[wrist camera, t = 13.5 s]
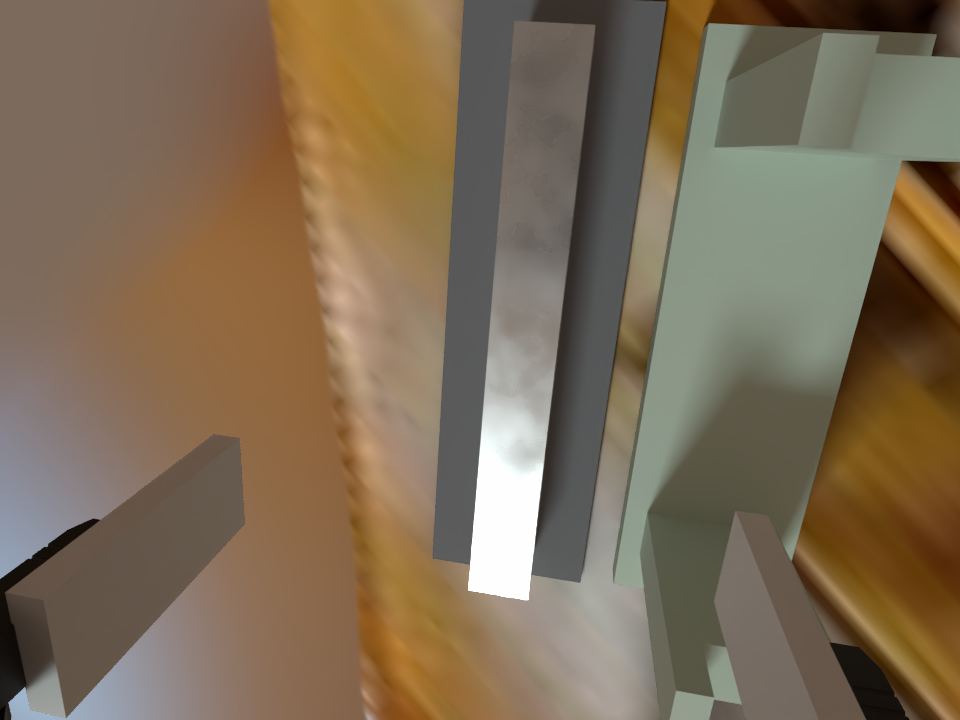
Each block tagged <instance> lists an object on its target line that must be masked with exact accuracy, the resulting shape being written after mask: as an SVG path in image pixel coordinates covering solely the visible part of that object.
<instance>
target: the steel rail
mask: <svg viewBox="0 0 960 720" xmlns="http://www.w3.org/2000/svg"><path fill="white" fill-rule="evenodd" d="M594 42H595V25H589V24H569V23H549V22H529V21H514V30H513V43H512V55H511V68H510V80H509V93H508V105H507V118H506V130H505V143H504V155H503V168H502V180H501V193H500V205H499V218H498V230H497V242H496V255H495V267H494V280H493V292H492V305H491V317H490V330H489V342H488V355H487V367H486V380H485V392H484V405H483V417H482V430H481V442H480V455H479V467H478V479H477V492H476V504H475V517H474V529H473V542H472V554H471V567H470V579H469V590H471V591H477V592H483V593H489V594H495V595H501V596H506V597H512V598H518V599H524V600H528V594H529V587H530V580H531V572H532V565H533V557H534V550H535V542H536V533H537V525H538V516H539V508H540V499H541V491H542V483H543V474H544V466H545V457H546V449H547V440H548V432H549V423H550V415H551V406H552V398H553V390H554V381H555V373H556V364H557V356H558V347H559V339H560V330H561V322H562V313H563V305H564V297H565V288H566V280H567V271H568V263H569V254H570V246H571V237H572V229H573V220H574V212H575V204H576V195H577V187H578V178H579V170H580V161H581V153H582V144H583V136H584V127H585V119H586V111H587V102H588V94H589V85H590V77H591V68H592V60H593V51H594Z"/></svg>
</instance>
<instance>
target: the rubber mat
mask: <svg viewBox="0 0 960 720" xmlns="http://www.w3.org/2000/svg"><path fill="white" fill-rule="evenodd" d="M666 4H667V2H663V1H641V0H464V11H463V29H462V46H461V64H460V82H459V99H458V117H457V135H456V152H455V170H454V188H453V205H452V223H451V241H450V259H449V276H448V294H447V312H446V329H445V347H444V365H443V382H442V400H441V418H440V435H439V453H438V471H437V488H436V506H435V524H434V541H433V559H439V560H445V561H451V562H458V563H464V564H470V565H471V554H472V542H473V529H474V517H475V504H476V492H477V479H478V467H479V455H480V442H481V430H482V417H483V405H484V392H485V380H486V367H487V355H488V342H489V330H490V317H491V305H492V292H493V280H494V267H495V255H496V242H497V230H498V218H499V205H500V193H501V180H502V168H503V155H504V143H505V130H506V118H507V105H508V93H509V80H510V68H511V55H512V43H513V30H514V21H529V22H549V23H569V24H589V25H595V42H594V51H593V60H592V68H591V77H590V85H589V94H588V102H587V111H586V119H585V127H584V136H583V144H582V153H581V161H580V170H579V178H578V187H577V195H576V204H575V212H574V220H573V229H572V237H571V246H570V254H569V263H568V271H567V280H566V288H565V297H564V305H563V313H562V322H561V330H560V339H559V347H558V356H557V364H556V373H555V381H554V390H553V398H552V406H551V415H550V423H549V432H548V440H547V449H546V457H545V466H544V474H543V483H542V491H541V499H540V508H539V516H538V525H537V533H536V542H535V550H534V557H533V565H532V572H531V575H536V576H542V577H549V578H555V579H561V580H567V581H573V582H579V583H580V581H581V574H582V568H583V561H584V554H585V547H586V541H587V534H588V527H589V521H590V514H591V507H592V500H593V494H594V487H595V480H596V474H597V467H598V460H599V453H600V447H601V440H602V433H603V427H604V420H605V413H606V407H607V400H608V393H609V386H610V380H611V373H612V366H613V360H614V353H615V346H616V339H617V333H618V326H619V319H620V313H621V306H622V299H623V292H624V286H625V279H626V272H627V266H628V259H629V252H630V245H631V239H632V232H633V225H634V219H635V212H636V205H637V198H638V192H639V185H640V178H641V172H642V165H643V158H644V151H645V145H646V138H647V131H648V125H649V118H650V111H651V105H652V98H653V91H654V84H655V78H656V71H657V64H658V58H659V51H660V44H661V37H662V31H663V24H664V17H665V11H666Z"/></svg>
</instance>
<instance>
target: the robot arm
mask: <svg viewBox="0 0 960 720" xmlns="http://www.w3.org/2000/svg"><path fill="white" fill-rule="evenodd" d="M244 524H245V517H244V501H243V484H242V468H241V452H240V438H235V437H229V436H222V435H215V434H214V435H212V436H211V437H210V438H208V439H207V440H206V441H204V442H203V443H202V444H200V445H199V446H198V447H196V448H195V449H194V450H192V451H191V452H190V453H188V454H187V455H186V456H185V457H183V458H182V459H181V460H179V461H178V462H177V463H175V464H174V465H173V466H171V467H170V468H169V469H168V470H166V471H165V472H163V473H162V474H161V475H159V476H158V477H157V478H156V479H154V480H153V481H152V482H150V483H149V484H148V485H146V486H145V487H144V488H142V489H141V490H140V491H138V492H137V493H136V494H135V495H133V496H132V497H131V498H129V499H128V500H127V501H125V502H124V503H123V504H121V505H120V506H119V507H118V508H116V509H115V510H113V511H112V512H111V513H109V514H108V515H107V516H106V517H104V518H103V519H101V520H98V519H91V520H89V521H87V522H84V523H83V524H80V525H78V526H75V527H73V528H71V529H69V530H67V531H66V532H64V533H63V534H61V535H60V536H59V537H57V538H56V539H55V540H53V541H52V542H50V543H49V544H48V547H44V548H42V549H41V550H40V551H38V552H37V553H35V554H34V555H33V556H32V559H27V560H26V561H24V562H23V563H22V564H20V565H19V566H18V567H16V568H15V569H14V570H12V571H11V572H9V573H8V574H7V575H5V576H4V577H2V578H1V579H0V720H11V713H10V708H9V704H8V702H9V701H10V700H11V699H13V698H14V696H16V695H17V694H18V693H19V692H20V691H21V690H22V689H23V688H24V687H25V688H26V692H27V697H28V702H29V706H30V710H32V711H36V712H41V713H45V714H50V715H54V716H59V717H64V718H67V716H68V715H69V714H70V713H71V712H72V711H73V710H74V709H75V708H76V707H77V706H78V704H79V703H80V702H81V701H82V700H83V699H84V698H85V697H86V696H87V695H88V694H89V693H90V691H91V690H92V689H93V688H94V687H95V686H96V685H97V684H98V683H99V682H100V681H101V680H102V679H103V677H104V676H105V675H106V674H107V673H108V672H109V671H110V670H111V669H112V668H113V666H114V665H115V664H116V663H117V662H118V661H119V660H120V659H121V658H122V656H124V655H125V654H126V652H127V651H128V650H129V649H130V648H131V647H132V646H133V645H134V644H135V643H136V642H137V640H138V639H139V638H140V637H141V636H142V635H143V634H144V633H145V632H146V631H147V630H148V629H149V628H150V626H151V625H152V624H153V623H154V622H155V621H156V620H157V619H158V618H159V617H160V616H161V614H162V613H163V612H164V611H165V610H166V609H167V608H168V607H169V606H170V605H171V604H172V602H173V601H174V600H175V599H176V598H177V597H178V596H179V595H180V594H181V593H182V592H183V591H184V590H185V588H186V587H187V586H188V585H189V584H190V583H191V582H192V581H193V580H194V579H195V578H196V577H197V575H198V574H199V573H200V572H201V571H202V570H203V569H204V568H205V567H206V566H207V565H208V564H209V562H210V561H211V560H212V559H213V558H214V557H215V556H216V555H217V554H218V553H219V552H220V550H221V549H222V548H223V547H224V546H225V545H226V544H227V543H228V542H229V541H230V540H231V539H232V537H233V536H234V535H235V534H236V533H237V532H238V531H239V530H240V529H241V528H242V527H243V526H244ZM714 604H715V607H716V611H717V615H718V619H719V622H720V626H721V630H722V633H723V637H724V641H725V644H726V648H727V652H728V655H729V659H730V663H731V667H732V670H733V674H734V678H735V681H736V685H737V689H738V692H739V696H740V700H741V703H742V707H743V711H744V715H745V718H746V720H909V718H908V717H905V711H904V709H903V707H902V706H901V704H900V702H899V700H898V698H897V697H895V696H894V691H893V690H892V688H891V686H890V684H889V682H888V681H887V679H886V677H885V675H884V673H883V672H882V670H881V669H880V668H879V667H878V666H877V665H876V664H875V663H874V662H873V661H872V660H871V659H870V658H869V657H868V656H867V655H866V654H865V653H864V652H863V651H862V650H861V649H860V648H859V647H854V646H848V645H842V644H836V643H831V642H828V639H827V637H826V635H825V633H824V631H823V629H822V627H821V625H820V623H819V621H818V619H817V617H816V614H815V612H814V610H813V608H812V606H811V604H810V602H809V600H808V598H807V596H806V594H805V592H804V590H803V587H802V585H801V583H800V581H799V579H798V577H797V575H796V573H795V571H794V569H793V567H792V565H791V563H790V560H789V558H788V556H787V554H786V552H785V550H784V548H783V546H782V544H781V542H780V540H779V538H778V536H777V533H776V531H775V529H774V527H773V525H772V523H771V521H770V519H769V517H768V515H762V514H755V513H748V512H741V511H735V515H734V519H733V523H732V527H731V532H730V536H729V540H728V544H727V549H726V553H725V557H724V561H723V565H722V570H721V574H720V578H719V582H718V587H717V591H716V595H715V599H714Z"/></svg>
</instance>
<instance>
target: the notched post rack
mask: <svg viewBox="0 0 960 720" xmlns="http://www.w3.org/2000/svg"><path fill="white" fill-rule="evenodd" d="M936 36H937V34H920V33H900V32H879V31H859V30H838V29H818V28H797V27H777V26H756V25H736V24H715V23H708V25H707V26H706V27H705V28H704V29H703V34H702V40H701V46H700V52H699V58H698V64H697V70H696V76H695V82H694V88H693V94H692V100H691V106H690V112H689V118H688V123H687V129H686V135H685V141H684V147H683V153H682V159H681V165H680V171H679V177H678V183H677V189H676V195H675V201H674V207H673V213H672V219H671V225H670V231H669V237H668V243H667V249H666V255H665V261H664V267H663V273H662V278H661V284H660V290H659V296H658V302H657V308H656V314H655V320H654V326H653V332H652V338H651V344H650V350H649V356H648V362H647V368H646V374H645V380H644V386H643V392H642V398H641V404H640V410H639V416H638V422H637V428H636V433H635V439H634V445H633V451H632V457H631V463H630V469H629V475H628V481H627V487H626V493H625V499H624V505H623V511H622V517H621V523H620V529H619V535H618V541H617V547H616V553H615V559H614V565H613V583H614V584H617V585H623V586H629V587H635V588H641V589H644V593H645V601H646V609H647V617H648V625H649V632H650V640H651V648H652V656H653V664H654V672H655V680H656V688H657V696H658V704H659V711H660V719H661V720H709V717H710V713H711V709H712V705H713V701H714V700H720V701H725V702H731V703H736V704H742V703H741V700H740V696H739V692H738V689H737V685H736V681H735V678H734V674H733V670H732V667H731V663H730V659H729V655H728V652H727V648H726V644H725V641H724V637H723V633H722V630H721V626H720V622H719V619H718V615H717V611H716V607H715V604H714V599H715V595H716V591H717V587H718V582H719V578H720V574H721V570H722V565H723V561H724V557H725V553H726V549H727V544H728V540H729V536H730V532H731V527H732V523H733V519H734V515H735V511H741V512H748V513H755V514H762V515H768V517H769V519H770V521H771V523H772V525H773V527H774V529H775V531H776V533H777V536H778V538H779V540H780V542H781V544H782V546H783V548H784V550H785V552H786V554H787V556H788V558H789V560H790V563H791V565H792V567H793V569H794V571H795V573H796V575H797V577H798V579H799V581H800V583H801V585H802V587H803V590H804V592H805V594H806V596H807V598H808V600H809V602H810V604H811V606H812V608H813V610H814V612H815V614H816V617H817V619H818V621H819V623H820V625H821V627H822V629H823V631H824V633H825V635H826V637H827V639H828V642H831V641H830V638H829V636H828V634H827V632H826V630H825V628H824V626H823V624H822V622H821V620H820V618H819V616H818V614H817V612H816V610H815V608H814V606H813V604H812V602H811V600H810V598H809V596H808V594H807V592H806V590H805V588H804V586H803V584H802V582H801V580H800V578H799V576H798V574H797V572H796V570H795V568H794V566H793V564H792V562H791V561H792V557H793V554H794V550H795V546H796V543H797V539H798V536H799V532H800V528H801V525H802V521H803V517H804V514H805V510H806V507H807V503H808V499H809V496H810V492H811V489H812V485H813V481H814V478H815V474H816V470H817V467H818V463H819V460H820V456H821V452H822V449H823V445H824V441H825V438H826V434H827V431H828V427H829V423H830V420H831V416H832V412H833V409H834V405H835V402H836V398H837V394H838V391H839V387H840V384H841V380H842V376H843V373H844V369H845V365H846V362H847V358H848V355H849V351H850V347H851V344H852V340H853V336H854V333H855V329H856V326H857V322H858V318H859V315H860V311H861V308H862V304H863V300H864V297H865V293H866V289H867V286H868V282H869V279H870V275H871V271H872V268H873V264H874V260H875V257H876V253H877V250H878V246H879V242H880V239H881V235H882V232H883V228H884V224H885V221H886V217H887V213H888V210H889V206H890V203H891V199H892V195H893V192H894V188H895V184H896V181H897V177H898V174H899V170H900V166H901V163H902V160H913V161H950V162H960V58H951V57H932V56H931V54H932V51H933V47H934V43H935V40H936Z"/></svg>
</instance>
